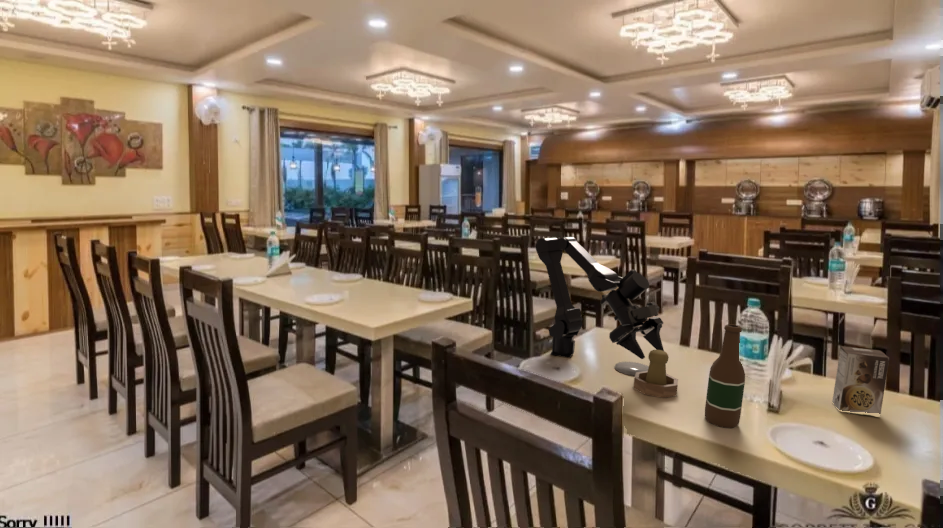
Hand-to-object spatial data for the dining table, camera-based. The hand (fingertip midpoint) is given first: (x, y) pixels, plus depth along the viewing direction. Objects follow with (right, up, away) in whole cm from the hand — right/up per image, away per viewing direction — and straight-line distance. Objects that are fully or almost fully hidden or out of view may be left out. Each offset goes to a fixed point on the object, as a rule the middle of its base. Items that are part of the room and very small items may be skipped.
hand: (653, 355), depth 146 cm
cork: (+1, -10, 0) cm, 10 cm away
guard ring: (+1, -9, 0) cm, 9 cm away
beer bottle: (+10, -13, -18) cm, 25 cm away
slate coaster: (-1, -7, +15) cm, 16 cm away
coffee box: (+50, -13, -9) cm, 52 cm away
